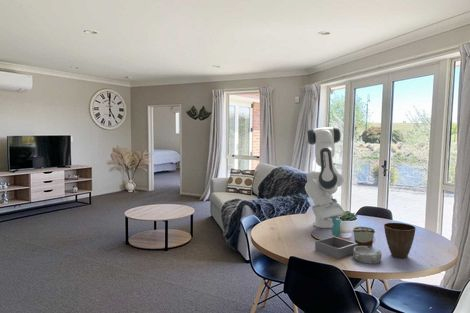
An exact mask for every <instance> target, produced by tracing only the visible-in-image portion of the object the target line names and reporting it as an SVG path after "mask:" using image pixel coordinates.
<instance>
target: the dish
mask: <svg viewBox="0 0 470 313" xmlns="http://www.w3.org/2000/svg"><path fill="white" fill-rule="evenodd" d="M352 255H353V259H354V260H356V261H357V262H360V263H363V264H371V265H374V264H379V263H380V262H381V261H382V252H381V250H378V251H377V252H373V251H372V250H371V249H370V248H369V247H367V246H357V247H355V248H354V249H353V254H352Z"/></svg>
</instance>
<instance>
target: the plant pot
mask: <svg viewBox="0 0 470 313" xmlns="http://www.w3.org/2000/svg"><path fill="white" fill-rule="evenodd" d="M383 227H384V228H383V230H384V234H385V238H386V243H387V245H388V249H389V252H390V254H391V256H392V257H394V258H397V259H407V258H408V256H409V254H410V251H411V248H412V245H413V242H414V238H415V235H416V234H415V233H416V229H417V228H416V227H415V225H412V224H410V223H409V224H408V223H404V222H386V223H384V225H383Z"/></svg>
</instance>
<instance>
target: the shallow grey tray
mask: <svg viewBox="0 0 470 313" xmlns="http://www.w3.org/2000/svg"><path fill="white" fill-rule="evenodd" d="M314 244H315V245H314V250H315V251H317V252H320V253H322V254H325V255H327V256H330V257H333V258H335V259H337V260H338V259H342V258H344V257H348V256H350V255H353V249H354V248H355V247H357V246H358V243H355V241H351V240H348V239H344V238H342V237H339V236H333V235H331V236H329V237H326V238H321V239H319V240H315V241H314Z"/></svg>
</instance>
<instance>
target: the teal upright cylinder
mask: <svg viewBox="0 0 470 313" xmlns="http://www.w3.org/2000/svg"><path fill="white" fill-rule="evenodd" d="M332 222H334V223H335V225H334V226H332V228H331V236H335V237H339V236H341V226H340V218H332Z"/></svg>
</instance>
